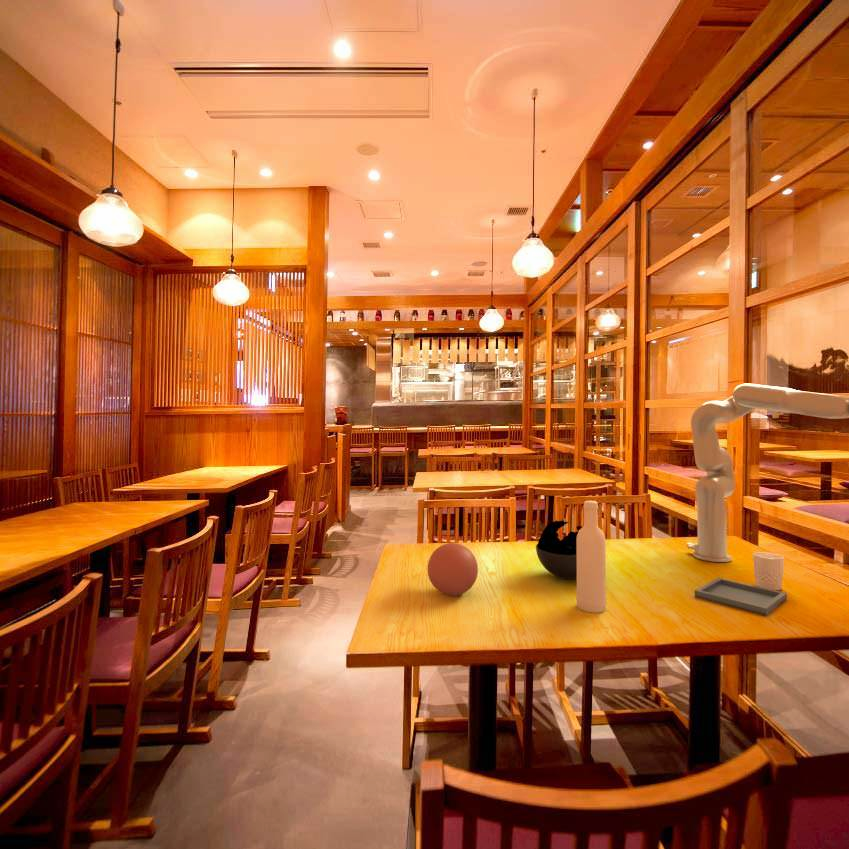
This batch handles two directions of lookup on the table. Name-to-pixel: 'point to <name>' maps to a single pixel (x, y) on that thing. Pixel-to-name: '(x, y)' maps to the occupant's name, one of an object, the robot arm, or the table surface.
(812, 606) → the table surface
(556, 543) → the bowl of black rocks
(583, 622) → the table surface
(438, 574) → the brown rubber ball
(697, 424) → the robot arm
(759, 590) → the serving tray
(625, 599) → the table surface
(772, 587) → the white cup
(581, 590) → the bottle
